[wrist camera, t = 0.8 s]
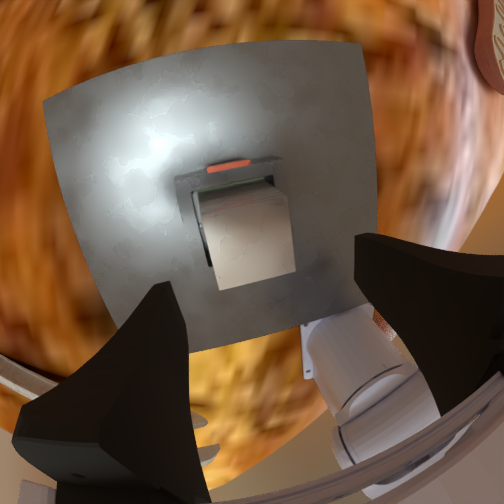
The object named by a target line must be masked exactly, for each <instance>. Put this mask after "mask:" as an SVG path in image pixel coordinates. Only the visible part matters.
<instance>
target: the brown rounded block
mask: <svg viewBox="0 0 504 504" xmlns="http://www.w3.org/2000/svg"><path fill="white" fill-rule="evenodd" d="M478 11H479V16H478V29H477V34H476V40H475V45H474V53H475V58H476V62H477V65H478V67H479V69H480V71H481V73H482V75H483V77H484V78H485V79H486V81H487V82H488V83H489V84H490V85H491V86H492V87H493V88H494V89H495V90H496V91H498V92H499V93H500V94H502V95H504V0H478Z"/></svg>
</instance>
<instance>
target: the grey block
mask: <svg viewBox="0 0 504 504" xmlns="http://www.w3.org/2000/svg"><path fill="white" fill-rule="evenodd" d="M196 194H197V198H198V203H199V207H200V215H201V219H202V224H203V228H204V232H205V236H206V240H207V244H208V248H209V252H210V256H211V260H212V264H213V268H214V272H215V276H216V279H217V283H218V287H219V291H220V290H225V289H229V288H233V287H237V286H241V285H245V284H249V283H253V282H257V281H261V280H265V279H269V278H273V277H277V276H280V275H284V274H288V273H292V272H296V270H295V260H294V251H293V241H292V232H291V223H290V215H289V206H288V198H287V196H286V195H284V194H283V193H282V192H280V191H279V190H278V189H276V188H275V187H273V186H272V185H271V184H269V183H268V182H266V181H265V180H264V177H258V178H252V179H247V180H243V181H238V182H233V183H228V184H224V185H219V186H215V187H210V188H206V189H201V190H197V191H196Z"/></svg>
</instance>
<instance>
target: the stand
mask: <svg viewBox="0 0 504 504" xmlns="http://www.w3.org/2000/svg"><path fill="white" fill-rule="evenodd" d="M42 102H43V109H44V115H45V122H46V127H47V133H48V138H49V143H50V148H51V152H52V157H53V161H54V165H55V169H56V173H57V177H58V180H59V184H60V188H61V191H62V195H63V198H64V201H65V204H66V208H67V211H68V214H69V217H70V220H71V223H72V226H73V228H74V231H75V234H76V237H77V239H78V242H79V245H80V247H81V250H82V252H83V255H84V257H85V260H86V262H87V265H88V267H89V269H90V272H91V274H92V276H93V279H94V281H95V283H96V285H97V288H98V290H99V292H100V294H101V296H102V298H103V300H104V302H105V304H106V306H107V308H108V310H109V312H110V314H111V316H112V318H113V320H114V322H115V324H116V326H117V328H118V330H119V329H120V327H121V326H122V325H123V324H124V323H125V321H126V320H127V319H128V318H129V316H130V315H131V314H132V313H133V311H134V310H135V309H136V307H137V306H138V305H139V303H140V302H141V301H142V299H143V298H144V296H145V295H146V294H147V292H148V291H149V290H150V289H151V287H152V286H153V285H154V284H157V283H162V282H166V281H170V282H171V285H172V288H173V291H174V293H175V296H176V299H177V302H178V304H179V307H180V310H181V312H182V315H183V318H184V320H185V323H186V329H187V336H188V345H189V353H194V352H199V351H203V350H208V349H212V348H217V347H221V346H225V345H229V344H234V343H238V342H242V341H246V340H250V339H253V338H257V337H261V336H265V335H268V334H272V333H276V332H279V331H283V330H286V329H290V328H293V327H297V326H300V325H303V324H307V323H310V322H313V321H316V320H319V319H323V318H326V317H329V316H332V315H335V314H338V313H341V312H344V311H347V310H350V309H352V308H355V307H358V306H361V305H364V304H367V303H369V301H368V300H367V299H366V297H365V296H364V294H363V293H362V292H361V290H360V289H359V287H358V285H357V284H356V282H355V281H354V236H355V235H359V234H363V233H367V232H368V233H376V234H377V170H376V152H375V138H374V127H373V117H372V108H371V100H370V93H369V86H368V80H367V73H366V68H365V62H364V57H363V52H362V47H361V44H357V43H347V42H335V41H316V40H277V41H258V42H245V43H235V44H227V45H219V46H212V47H206V48H200V49H194V50H189V51H184V52H179V53H175V54H170V55H166V56H162V57H158V58H154V59H150V60H146V61H143V62H139V63H136V64H133V65H129V66H126V67H123V68H120V69H117V70H114V71H111V72H109V73H106V74H103V75H100V76H98V77H95V78H93V79H90V80H87V81H85V82H83V83H80V84H78V85H76V86H73V87H71V88H69V89H67V90H64V91H62V92H60V93H58V94H56V95H54V96H52V97H50V98H48V99H46V100H44V101H42ZM258 177H264V180H265V181H266V182H268V183H269V184H271V185H272V186H273V187H275V188H276V189H278V190H279V191H280V192H282V193H283V194H284V195H286V196H287V198H288V206H289V215H290V223H291V232H292V241H293V251H294V260H295V270H296V272H292V273H288V274H284V275H280V276H277V277H273V278H269V279H265V280H261V281H257V282H253V283H249V284H245V285H241V286H237V287H233V288H229V289H225V290H220V291H219V287H218V283H217V279H216V276H215V272H214V268H213V264H212V260H211V256H210V252H209V248H208V244H207V240H206V236H205V232H204V228H203V224H202V219H201V215H200V207H199V203H198V198H197V194H196V191H197V190H201V189H206V188H210V187H215V186H219V185H224V184H228V183H233V182H238V181H243V180H247V179H252V178H258Z"/></svg>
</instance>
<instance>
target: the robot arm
mask: <svg viewBox="0 0 504 504" xmlns="http://www.w3.org/2000/svg"><path fill="white" fill-rule="evenodd" d="M354 281H355V282H356V284H357V285H358V287H359V289H360V290H361V292H362V293H363V294H364V296H365V297H366V299H367V300H368V301H369V302H370V303H367V304H364V305H361V306H358V307H355V308H352V309H350V310H347V311H344V312H341V313H338V314H335V315H332V316H329V317H326V318H323V319H319V320H316V321H313V322H310V323H307V324H303V325H300V334H301V348H302V364H303V377H304V379H310V378H314V380H315V382H316V384H317V386H318V388H319V390H320V392H321V394H322V396H323V398H324V400H325V402H326V404H327V406H328V408H329V410H330V412H331V414H332V415H333V416H334V417H335V418H336V420H337V422H338V424H339V425H338V426H336V427H334V428H333V430H332V435H331V447H332V450H333V453H334V455H335V457H336V459H337V461H338V463H339V465H340V466H341V468H342V470H341V471H338V472H335V473H333V474H330V475H328V476H325V477H322V478H319V479H316V480H313V481H310V482H307V483H304V484H300V485H297V486H294V487H290V488H287V489H283V490H279V491H275V492H271V493H267V494H262V495H257V496H253V497H247V498H243V499H236V500H230V501H223V502H215V503H212V501H211V498H210V496H209V492H208V489H207V485H206V482H205V478H204V475H203V471H202V467H201V463H200V458H199V454H198V450H197V445H196V440H195V435H194V429H193V423H192V417H191V411H190V401H189V345H188V336H187V329H186V323H185V320H184V318H183V315H182V312H181V310H180V307H179V304H178V302H177V299H176V296H175V293H174V291H173V288H172V285H171V282H170V281H166V282H162V283H157V284H154V285H153V286H152V287H151V289H150V290H149V291H148V292H147V294H146V295H145V296H144V298H143V299H142V301H141V302H140V303H139V305H138V306H137V307H136V309H135V310H134V311H133V313H132V314H131V315H130V316H129V318H128V319H127V320H126V321H125V323H124V324H123V325H122V326H121V327H120V329H119V330H118V331H117V332H116V334H115V335H114V336H113V337H112V338H111V339H110V340H109V341H108V342H107V343H106V344H105V345H104V346H103V347H102V348H101V349H100V350H99V351H98V352H97V353H96V354H95V355H94V356H93V357H92V358H91V359H90V360H88V361H87V362H86V363H85V364H84V365H83V366H82V367H80V368H79V369H78V370H77V371H76V372H74V373H73V374H72V375H71V376H69V377H68V378H67V379H65V380H64V381H62V382H61V383H60V384H58V385H57V386H55V387H54V388H52V389H51V390H49V391H48V392H46V393H44V394H42V395H41V396H39V397H37V398H35V399H34V400H32V401H30V402H28V403H27V404H25V405H23V406H22V407H21V410H20V413H19V417H18V420H17V423H16V427H15V430H14V434H13V437H12V444H13V446H14V448H15V450H16V451H17V452H18V453H19V455H20V456H21V457H23V458H24V459H25V460H26V461H28V462H29V463H30V464H31V465H33V466H34V467H36V468H37V469H39V470H40V471H42V472H43V473H45V474H46V475H48V476H49V477H51V478H52V479H54V480H55V481H57V489H53V488H51V487H48V486H45V485H41V484H38V483H34V482H30V481H27V480H21V484H20V491H19V499H18V504H327V503H330V502H333V501H336V500H338V499H341V498H343V497H346V496H348V495H351V494H353V493H356V492H358V491H360V490H363V492H364V493H365V495H366V496H367V497H370V498H371V501H369V502H367V503H365V504H504V255H477V254H466V253H458V252H452V251H446V250H441V249H436V248H432V247H428V246H423V245H419V244H416V243H412V242H408V241H404V240H401V239H397V238H393V237H389V236H385V235H381V234H376V233H368V232H367V233H363V234H359V235H355V236H354ZM374 308H375V309H376V310H377V311H378V312H379V313H380V315H381V316H382V317H383V318H384V319H385V320H386V321H387V323H388V324H389V325H390V326H391V327H392V328H393V329H394V331H395V332H396V333H397V334H398V336H399V337H400V338H401V339H402V341H403V342H404V344H405V345H406V347H407V349H408V350H409V352H410V353H411V355H412V356H413V358H414V360H415V362H416V363H417V365H418V368H417V367H416V366H415V364H414V363H413V362H412V361H411V360H409V361H407V360H406V359H405V358H404V357H403V355H402V354H401V353H400V352H399V351H398V349H397V348H396V347H395V346H394V345H393V343H392V342H391V341H390V340H389V338H388V337H387V336H386V335H385V334H384V333H383V331H382V330H381V329H380V328H379V327H378V326H377V324H376V323H375V322H374V321H373V313H374ZM479 415H480V416H479ZM478 416H479V417H478ZM477 417H478V418H477ZM475 418H477V419H476V420H475V421H474V422H473V420H474V419H475Z"/></svg>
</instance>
